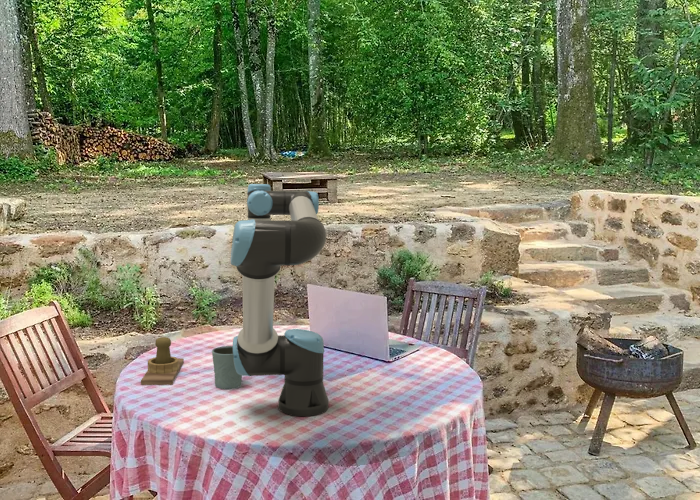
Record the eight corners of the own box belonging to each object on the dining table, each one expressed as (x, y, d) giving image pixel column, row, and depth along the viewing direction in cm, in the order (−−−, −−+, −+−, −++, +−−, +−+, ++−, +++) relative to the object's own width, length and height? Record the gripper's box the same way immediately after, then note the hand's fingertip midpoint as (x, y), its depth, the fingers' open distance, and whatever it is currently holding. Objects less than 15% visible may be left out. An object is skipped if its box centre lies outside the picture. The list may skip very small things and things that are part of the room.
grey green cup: (236, 391, 208) (236, 355, 207) (207, 388, 210) (206, 352, 209) (247, 381, 218) (247, 346, 217) (219, 378, 220) (219, 344, 219)
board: (172, 384, 213) (171, 371, 213) (140, 385, 212) (140, 371, 212) (183, 362, 237) (183, 350, 236) (155, 362, 236) (155, 350, 235)
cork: (167, 372, 221) (167, 340, 219) (151, 370, 222) (150, 339, 221) (175, 366, 227) (175, 336, 225) (159, 365, 228) (159, 334, 226)
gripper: (247, 228, 225) (247, 288, 227) (247, 234, 201) (247, 301, 203) (269, 228, 226) (269, 288, 228) (271, 234, 202) (271, 301, 204)
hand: (258, 294), depth 216 cm, fingers open, 13 cm apart
